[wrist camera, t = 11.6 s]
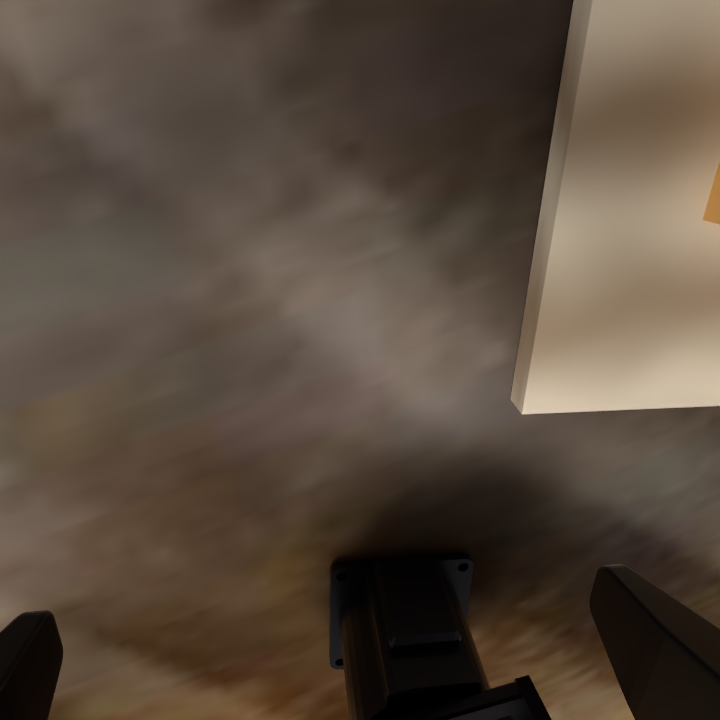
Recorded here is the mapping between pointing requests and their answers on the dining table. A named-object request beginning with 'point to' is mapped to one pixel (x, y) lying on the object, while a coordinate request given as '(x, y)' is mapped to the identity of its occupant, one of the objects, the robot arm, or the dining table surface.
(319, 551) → the dining table surface
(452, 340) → the dining table surface
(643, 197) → the board
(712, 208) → the block
